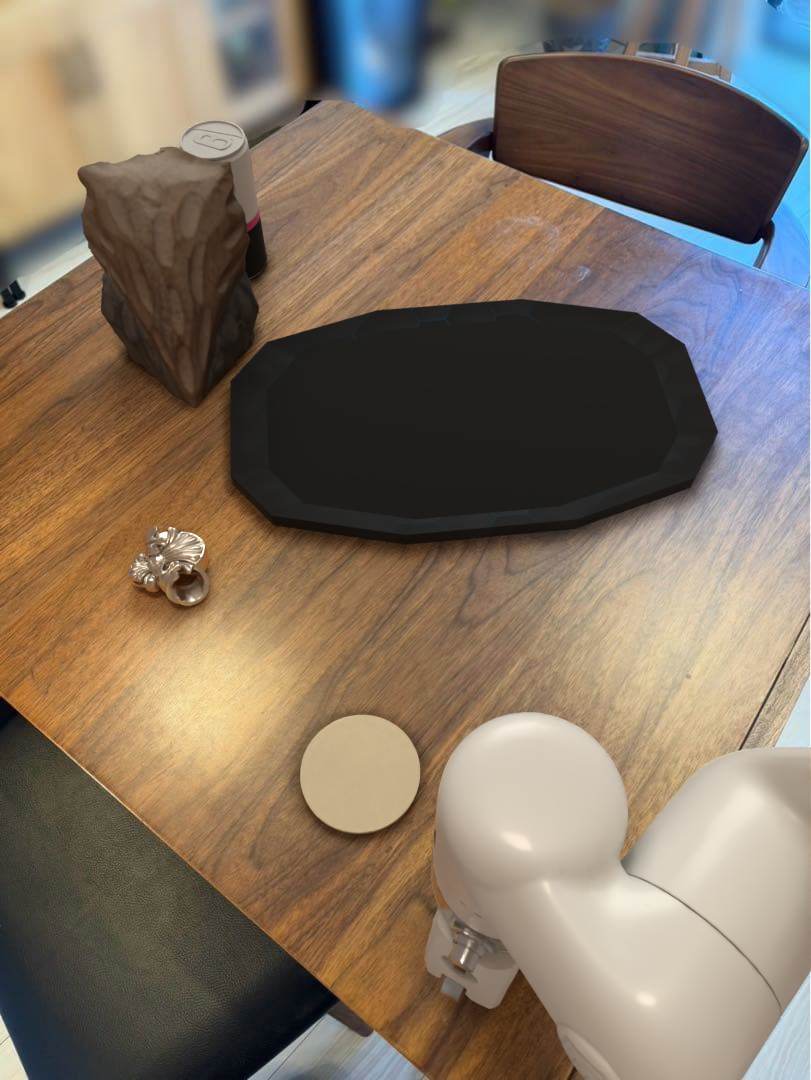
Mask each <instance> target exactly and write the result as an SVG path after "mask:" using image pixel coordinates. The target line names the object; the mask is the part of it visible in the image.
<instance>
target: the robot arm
mask: <svg viewBox="0 0 811 1080" xmlns="http://www.w3.org/2000/svg"><path fill="white" fill-rule="evenodd" d="M435 809H436V810H435V820H434V830H433V838H432V839H433V842H432V849H431V861H430V882H431V886H432V892H433V896H434V898H435V902H436V904H437V908H436V912H435V915H434V916H433V918H432V925H431V928H430V931H429V934H428V938H427V942H426V946H425V951H424V955H423V956H424V957H423V958H424V965H425V969H426V970H427V972H428V973H429V974H431V975H432V976H433V977H436V978H438V979H441V978H442V976H443V975H444V976H445V977H444V979H443V981H442V984H441V986H440V989H439V991H438V992H439V993H440V994H442V995H444V996H446V997H447V998H449V999H451V1000H452V1001H454V1002H456V1003H458V1002H459V1000H460V997H461V996H462V993H463V992H464V989H466V991H465V993H464V994H465V996H466V997H467V998H468V999H470V1000H471V1001H472V1002H474V1003H476V1004H477V1005H480V1006H481V1007H484V1008H486V1009H489V1010H491V1009H494V1008H497V1007H498V1006H500V1005H501V1002H502V1001H503V999H504V997H505V995H506V993H507V991H508V989H509V988H510V986H511V984H512V982H513V981H514V979H515V977H516V975H517V974H518V972H519V970H520V971H521V973H522V975H523V976H524V978H525V979H526V980H527V982H528V984H529V985H530V987H531V989H532V991H534V993H535V994H536V996H537V998H538V999H539V1001H540V1002H541V1004H542V1005H543V1007H544V1009H545V1010H546V1011H547V1014H548V1015H549V1016H550V1018H551V1020H552V1022H554V1024H555V1026H556V1033H557V1037H558V1039H559V1042H560V1044H561V1046H562V1049H563V1050H564V1052H565V1053H566V1055H567V1057H568V1059H569V1060H570V1062H571V1064H572V1065H573V1067H574V1068H575V1069H576V1070H577V1072H578V1073H579V1074H580V1076H581V1077H582V1079H583V1080H743V1079H744V1077H745V1075H746V1074H747V1072H748V1071H749V1069H750V1068H751V1066H752V1065H753V1063H754V1061H755V1060H756V1058H757V1057H758V1055H759V1054H760V1052H761V1051H762V1049H763V1047H764V1046H765V1044H766V1043H767V1041H768V1040H769V1038H770V1036H771V1035H772V1033H773V1031H774V1030H775V1028H777V1025H778V1023H779V1022H780V1021H781V1017H782V1016H783V1015H784V1013H785V1012H786V1010H787V1009H788V1008H789V1006H790V1004H791V1003H792V1001H793V1000H794V998H795V997H796V995H797V993H798V992H799V990H800V989H801V987H802V986H803V984H804V983H805V982H806V979H807V978H808V976H809V974H810V973H811V747H807V746H806V747H805V746H803V747H801V746H800V747H799V746H798V747H797V746H771V747H769V746H768V747H765V746H764V747H752V748H745V749H740V750H736V751H731V752H728V753H725V754H722V755H719V756H717V757H715V758H713V759H711V760H709V761H707V762H705V764H703V765H701V766H700V767H699V768H697V769H696V771H694V772H693V773H692V774H690V776H689V777H688V778H687V779H685V781H684V782H683V784H682V785H681V786H679V788H678V789H677V790H676V792H674V795H673V796H672V797H671V798H670V799H669V800H668V801H667V802H666V804H665V805H664V806H663V807H662V809H660V811H659V812H657V814H656V816H655V817H653V819H652V820H651V822H650V823H649V824H648V826H647V827H646V828H645V829H644V830H643V832H642V833H641V834H640V835H639V837H638V838H637V840H636V841H635V842H634V844H632V845H631V847H630V848H629V850H628V851H627V852H626V853H625V855H624V856H623V857H622V858H621V854H622V853H621V852H622V849H623V847H624V844H625V840H626V837H627V832H628V824H629V823H628V822H629V805H628V797H627V791H626V787H625V785H624V782H623V778H622V776H621V774H620V772H619V770H618V767H617V766H616V763H615V762H614V760H613V758H611V756H610V755H609V754H608V752H607V750H606V749H605V748H604V747H603V746H602V745H601V744H600V743H599V742H598V741H597V740H596V739H595V738H594V737H593V736H592V735H591V734H589V733H588V732H587V731H586V730H584V729H583V728H581V727H580V726H579V725H576V724H574V723H572V722H570V721H569V720H566V719H564V718H562V717H558V716H556V715H552V714H547V713H542V712H535V711H525V712H524V711H523V712H514V713H513V712H511V713H508V714H503V715H500V716H497V717H495V718H492V719H490V720H488V721H485V722H484V723H482V724H480V725H478V727H475V729H473V730H472V731H471V732H469V733H468V734H467V735H466V736H465V737H464V738H463V739H462V740H461V741H460V742H459V744H457V746H456V747H455V748H454V750H453V751H452V753H451V754H450V756H449V758H448V760H447V762H446V764H445V767H444V769H443V772H442V775H441V779H440V782H439V786H438V791H437V798H436V808H435Z"/></svg>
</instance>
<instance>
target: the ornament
mask: <svg viewBox="0 0 811 1080" xmlns="http://www.w3.org/2000/svg"><path fill="white" fill-rule="evenodd" d="M143 543H144V546H145V548H144V549H145V552H144V551H141V552H140V551H139V552H138V553H137V554H136V555H135V557H134V559H133V562H132V563H131V564H130V566H129V568H128V571H127V579H128V581H129V583H130V584H131V585H132V586H135V587H137V588H144V589H145V590H146V591H147V592H151V593H157V592H158V591H159V590H160V589H161V590H162V591H163V592H164V593H165V595H166V596H167V598H168V600H169V601H170V602H172V603H173V604H177V605H178V604H180V605H181V606H183V607H190V606H192V607H193V606H195V605H197V604H199V603H200V602H202V601H203V600H204V599H205V598H206V597H207V595H208V593H209V591H210V578H209V576H208V574H207V572H206V570H207V568H208V566H209V560H210V554H209V553H210V552H209V550H208V547H207V545H206V543H205V541H204V540H203V539H202V538H201V537H200V536H198V535H197V534H195V533H193V532H190V531H189V532H188V531H187V528H185V527H179V528H175V527H174V526H172V525H171V526H167V527H166V531H161V532H160V528H159V527H158V526H156V525H153V526H151V527H150V528H148V529H147V531H146V533H145V534H144V536H143ZM180 575H190V576H194V577H196V578H195V579H194V580H193V581H192V583H190V584H187V585H179V584H175V582H176V581H177V580H179V578H180Z"/></svg>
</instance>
